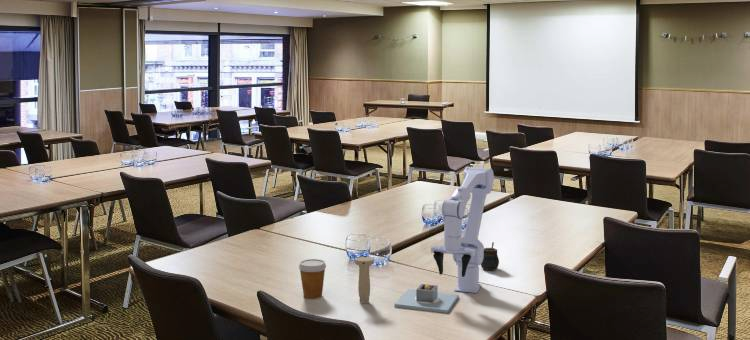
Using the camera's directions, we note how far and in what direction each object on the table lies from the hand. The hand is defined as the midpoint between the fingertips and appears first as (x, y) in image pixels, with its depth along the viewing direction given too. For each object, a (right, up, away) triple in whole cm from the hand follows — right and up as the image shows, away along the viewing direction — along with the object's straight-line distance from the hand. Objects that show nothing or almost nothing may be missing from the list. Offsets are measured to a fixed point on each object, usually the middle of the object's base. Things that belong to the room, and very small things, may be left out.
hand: (452, 274), depth 235 cm
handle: (-30, -10, +1) cm, 31 cm away
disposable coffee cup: (-48, -9, +7) cm, 49 cm away
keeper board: (-8, -9, +1) cm, 13 cm away
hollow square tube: (-8, -8, +1) cm, 12 cm away
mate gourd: (+19, -4, +39) cm, 43 cm away
